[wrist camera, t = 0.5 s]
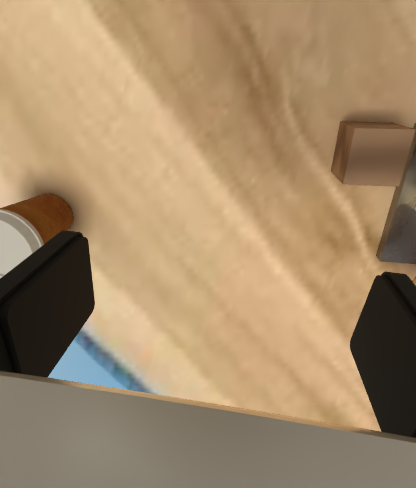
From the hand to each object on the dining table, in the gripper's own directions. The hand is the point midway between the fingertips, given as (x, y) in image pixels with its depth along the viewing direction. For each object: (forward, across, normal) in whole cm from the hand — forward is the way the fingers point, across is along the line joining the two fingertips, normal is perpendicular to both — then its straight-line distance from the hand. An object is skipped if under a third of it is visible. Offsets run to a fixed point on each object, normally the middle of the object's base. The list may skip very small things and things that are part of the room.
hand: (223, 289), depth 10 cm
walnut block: (+34, -15, 0) cm, 37 cm away
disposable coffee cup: (+34, +27, +14) cm, 46 cm away
